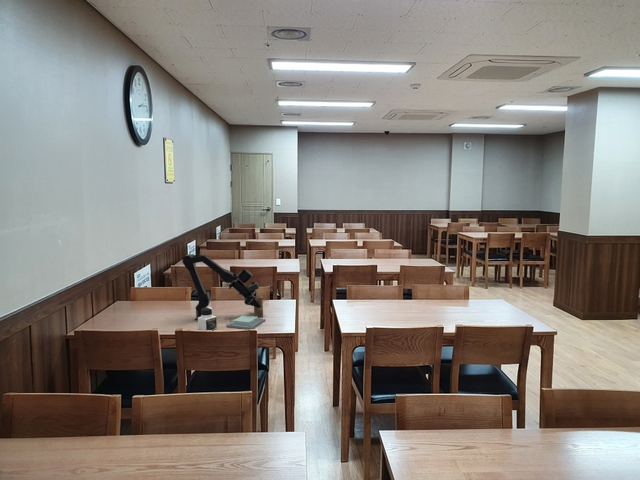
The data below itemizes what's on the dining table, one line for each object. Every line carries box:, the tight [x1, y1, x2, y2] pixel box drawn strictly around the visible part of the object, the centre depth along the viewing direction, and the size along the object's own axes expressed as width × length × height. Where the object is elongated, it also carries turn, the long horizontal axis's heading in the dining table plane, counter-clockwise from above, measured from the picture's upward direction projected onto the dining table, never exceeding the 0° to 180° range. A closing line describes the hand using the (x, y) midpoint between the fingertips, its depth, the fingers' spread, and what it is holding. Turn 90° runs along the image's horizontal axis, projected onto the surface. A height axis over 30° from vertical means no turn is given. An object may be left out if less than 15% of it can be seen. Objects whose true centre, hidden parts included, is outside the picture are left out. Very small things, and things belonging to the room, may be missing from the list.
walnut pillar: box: [253, 295, 264, 319], centre depth 262 cm, size 5×5×12 cm
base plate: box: [225, 314, 266, 330], centre depth 248 cm, size 16×16×3 cm
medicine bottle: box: [197, 306, 218, 331], centre depth 240 cm, size 7×7×12 cm
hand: (260, 305), depth 262 cm, fingers open, 8 cm apart
